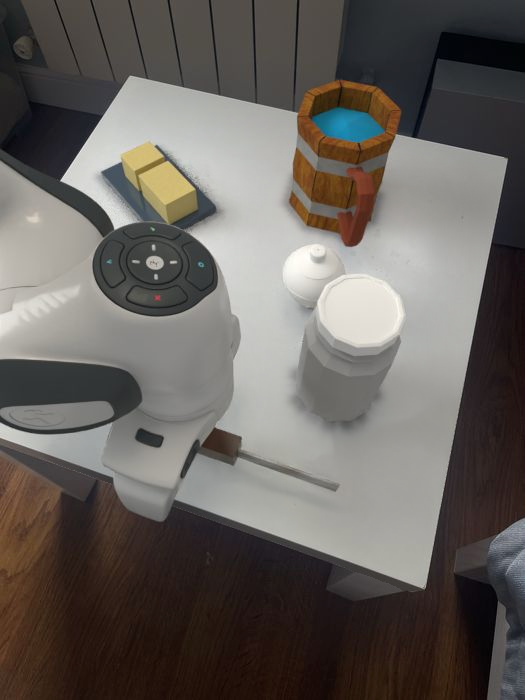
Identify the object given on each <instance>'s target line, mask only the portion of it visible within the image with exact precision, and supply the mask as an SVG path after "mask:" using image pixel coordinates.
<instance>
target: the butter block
mask: <svg viewBox="0 0 525 700" xmlns="http://www.w3.org/2000/svg"><path fill="white" fill-rule="evenodd" d="M138 176H139V180H140V185H141V189H142V193H143V196H144V197H145V199H146V200H147V201H148V202H149V203H150V204H151V205H152V206H153V208H154V209H155V210H156V211H157V212H158V213H159V214H160V215H161V217H162V218H163V219H164V220H165V221H166V222H167V223H168V224H169V225H170V224H172V223H174V222H176V221H178V220H179V219H181V218H183V217H185V216H187V215H189V214H191V213H192V212H194V211H196V210H198V206H197V197H196V189H195V188H194V187H193V186H192V185H191V184H190V183H189V182H188V181H187V180H186V179H185V178H184V177H183V176H182V175H181V174H180V172H179V171H178V170H177V169H176V168H175V167H174V166H173V165H172V164H171V163H170V162H169V161H166V162H164V163H162V164H160V165H158V166H156V167H154V168H152V169H150V170H148V171H146V172H144V173H142V174H140V175H138Z"/></svg>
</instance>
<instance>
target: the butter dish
mask: <svg viewBox="0 0 525 700" xmlns="http://www.w3.org/2000/svg"><path fill="white" fill-rule="evenodd" d="M154 146H155V147H156V149H157V150H158V151H159V152H160V153H161V154H162V155H163V156H164V159H165V162H166V161H169V162H170V163H171V164H172V165H173V166H174V167H175V168H176V169H177V170H178V171H179V172H180V174H181V175H182V176H183V177H184V178H185V179H186V180H187V181H188V182H189V183H190V184H191V185H192V186H193V187H194V188H195V189H196V197H197V206H198V210H196V211H194V212H192V213H191V214H189V215H187V216H185V217H183V218H181V219H179V220H178V221H176V222H174V223H172V224H170V225H173V226H175V227H178V228H180V229H182V230H184V231H185V230H186V229H188V228H190V227H191V226H194V225H195V224H197V223H199V222H200V221H203V220H205V219H206V218H208V217H210V216H211V215H213V214H215V213H217V206H216V205H215V203H214V202H213V201H212V200H211V199H210V198H209V197H208V196H207V195H206V194H205V193H204V192H203V191H202V190H201V189H200V187H198V186H197V185H196V183H195V182H194V181H192V180H191V178H190V177H189V176H188V175H187V174H186V173H185V172H184V171H183V170H182V169H181V168H180V167H179V166H178V165H177V164H176V163H175V162H174V161H173V160H172V158H170V157H169V156H168V154H167V153H166V152H165V151H164V150H163V149H162V148H161V147H160V146H159V145H158V144H155V145H154ZM100 174H101V177H102V179H103V180H104V181H105V182H106V183H107V185H108V186H109V188H111V189H112V190H113V192H114V193H115V194H116V195H117V196H118V198H119V199H120V200H121V201H122V202H123V203H124V205H125V206H126V207H127V208H128V209H129V210H130V212H131V213H132V214H133V215H134V217H136V218H137V219H138V222H160V223H165V224H168V223H167V222H166V221H165V220H164V219H163V218H162V217H161V215H160V214H159V213H158V212H157V211H156V210H155V209H154V208H153V206H152V205H151V204H150V203H149V202H148V201H147V200H146V199H145V197H144V196H143V193H142V191H138V190H137V188H136V187H135V186H134V185H133V184H132V183H131V182H130V181H129V179H128V178H127V177H126V176H125V172H124V168H123V165H122V161H120V162H118V163H116V164H113V165H112V166H110V167H107V168H106V169H104V170H101V171H100Z"/></svg>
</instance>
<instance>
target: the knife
mask: <svg viewBox="0 0 525 700" xmlns="http://www.w3.org/2000/svg"><path fill="white" fill-rule="evenodd" d="M242 438H243V437H242V436H240V435H237V434H234V433H232V432H230V431H226V430H223V429H221V428H217V427H216V426H215V427H214V429H213V430H212V432H211V433H210V434H209V436H208V437H207V438H206V439H205V441H204V442H203V444H202V445H201V447H200V448H199V451H198V453H197V454H199V455H201V456H204V457H206V458H210V459H212V460H215V461H218V462H221V463H224V464H227V465H229V466H231V467H235V466H236V465H235V464H236V462H237V459H241V460H244V461H247V462H249V463H253V464H254V465H255V464H256V465H257V466H261V467H264V468H267V469H269V470H271V471H275V472H278V473H280V474H283V475H287V476H289V477H292V478H295V479H298V480H300V481H303V482H306V483H309V484H312V485H314V486H318V487H320V488H323V489H326V490H328V491H331V492H334V493H336V492H337V491H338V489H339V487H340V483H338V482H335V481H332V480H330V479H326V478H324V477H321V476H318V475H316V474H313V473H309V472H307V471H304V470H301V469H298V468H295V467H293V466H289V465H287V464H284V463H281V462H279V461H275V460H273V459H269V458H267V457H263V456H261V455H259V454H256V453H253V452H250V451H247V450H244V449H242V447H243V446H242V445H243V443H242V442H243V441H242V440H243V439H242Z"/></svg>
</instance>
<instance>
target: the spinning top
mask: <svg viewBox="0 0 525 700" xmlns="http://www.w3.org/2000/svg"><path fill="white" fill-rule="evenodd" d="M281 273H282V274H281V275H282V282H283V286H284V288H285V290H286V292H287V293H288V295H289V296H290V297H291V298H292V299H293V301H295V302H296V303H297V304H299V305H300V306H303V307H305V308H307V309H309V308H315V307H316V306H317V301H318V300H319V298H320V296H321V294H322V292H323V290H324V288H325V286H326V285H327V284H328V283H330V282H332V281H333V280H335V279H337V278H339V277H340V276H342V275H347V274H346V268H345V264H344V262H343V260H342V259H341V257H340V256H339V254H337V253H336V251H334V250H333V249H331V248H329V247H328V246H326V245H323V244H319V243H313V244H307V245H303V246H301V247H298V248H297V249H295V250H294V251H293V252H291V254H289V256H288V257H287V259H286V260H285V262H284V263H283V268H282V272H281Z"/></svg>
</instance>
